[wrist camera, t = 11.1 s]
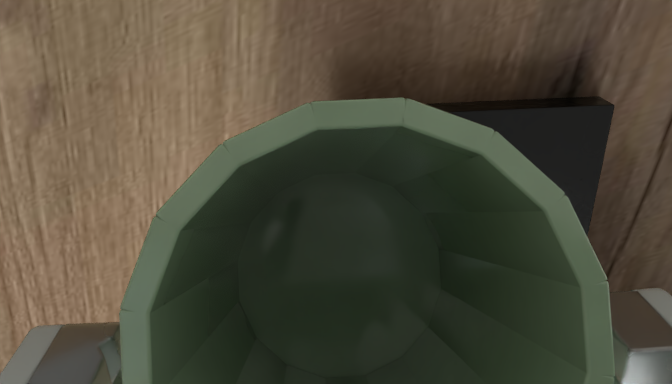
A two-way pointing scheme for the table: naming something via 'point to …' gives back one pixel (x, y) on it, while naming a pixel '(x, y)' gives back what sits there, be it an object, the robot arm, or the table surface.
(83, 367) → the robot arm
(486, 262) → the green mug
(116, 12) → the table surface
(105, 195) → the table surface
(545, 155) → the mug stand
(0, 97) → the table surface
